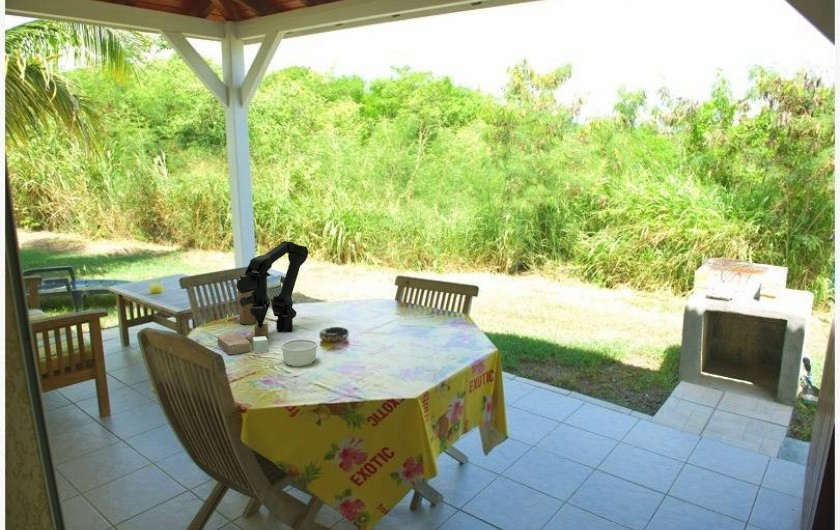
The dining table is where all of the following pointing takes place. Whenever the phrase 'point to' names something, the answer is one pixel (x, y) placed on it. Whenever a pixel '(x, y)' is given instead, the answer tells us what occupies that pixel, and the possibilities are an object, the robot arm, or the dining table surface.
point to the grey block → (260, 344)
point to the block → (246, 310)
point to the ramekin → (299, 351)
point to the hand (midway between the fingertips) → (261, 324)
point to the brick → (233, 343)
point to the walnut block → (261, 330)
